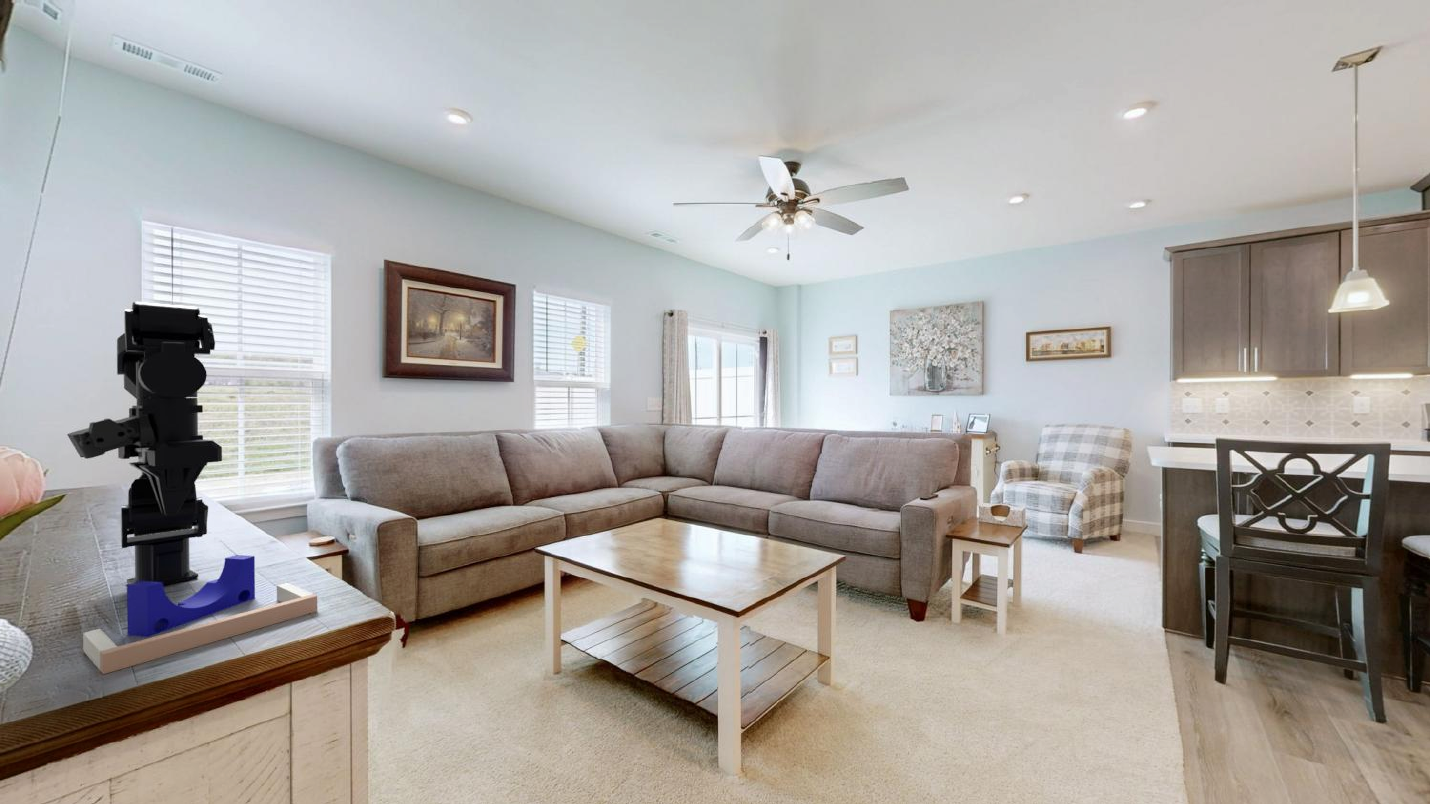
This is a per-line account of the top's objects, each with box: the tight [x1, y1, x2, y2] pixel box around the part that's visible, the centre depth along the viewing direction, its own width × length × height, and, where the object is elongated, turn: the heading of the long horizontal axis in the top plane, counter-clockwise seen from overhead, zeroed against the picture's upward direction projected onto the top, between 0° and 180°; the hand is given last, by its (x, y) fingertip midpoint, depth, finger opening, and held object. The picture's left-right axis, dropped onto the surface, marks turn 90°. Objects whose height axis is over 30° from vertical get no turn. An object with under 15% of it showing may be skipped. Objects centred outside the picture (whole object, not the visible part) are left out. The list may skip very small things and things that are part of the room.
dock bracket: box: [82, 582, 318, 675], centre depth 64 cm, size 9×18×2 cm, turn 148°
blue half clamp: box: [126, 554, 256, 638], centre depth 68 cm, size 12×4×6 cm, turn 169°
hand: (169, 514), depth 72 cm, fingers closed
